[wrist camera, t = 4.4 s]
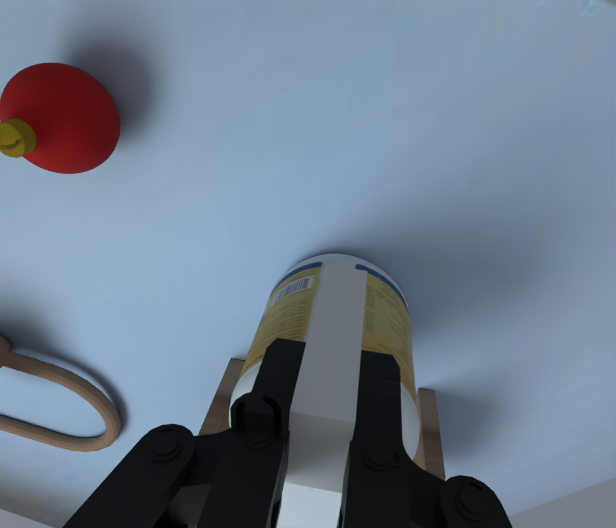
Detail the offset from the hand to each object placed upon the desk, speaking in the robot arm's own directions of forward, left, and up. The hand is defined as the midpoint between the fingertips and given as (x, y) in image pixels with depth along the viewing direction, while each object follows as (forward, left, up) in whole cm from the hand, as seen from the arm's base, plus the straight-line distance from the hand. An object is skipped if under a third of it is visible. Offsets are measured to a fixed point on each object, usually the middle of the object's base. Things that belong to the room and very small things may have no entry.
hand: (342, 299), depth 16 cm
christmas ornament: (-1, -20, -18) cm, 27 cm away
